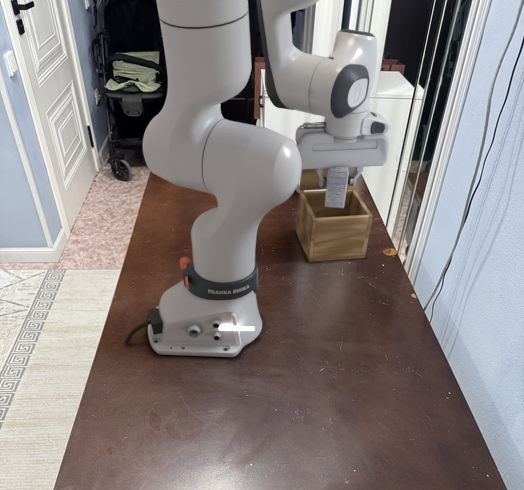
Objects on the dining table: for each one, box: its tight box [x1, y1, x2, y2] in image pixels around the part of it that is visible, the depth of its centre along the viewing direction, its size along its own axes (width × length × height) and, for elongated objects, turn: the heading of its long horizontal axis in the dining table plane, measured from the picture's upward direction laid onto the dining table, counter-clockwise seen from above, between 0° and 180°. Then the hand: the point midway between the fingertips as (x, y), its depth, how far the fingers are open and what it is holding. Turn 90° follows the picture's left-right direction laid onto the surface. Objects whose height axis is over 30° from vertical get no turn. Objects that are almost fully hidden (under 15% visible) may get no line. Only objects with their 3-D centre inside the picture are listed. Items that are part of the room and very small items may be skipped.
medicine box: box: [325, 166, 349, 208], centre depth 111 cm, size 8×4×9 cm, turn 170°
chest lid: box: [299, 167, 358, 191], centre depth 114 cm, size 15×14×5 cm
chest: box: [296, 188, 374, 263], centre depth 118 cm, size 14×14×11 cm
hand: (337, 185), depth 111 cm, fingers closed on medicine box, 5 cm apart
